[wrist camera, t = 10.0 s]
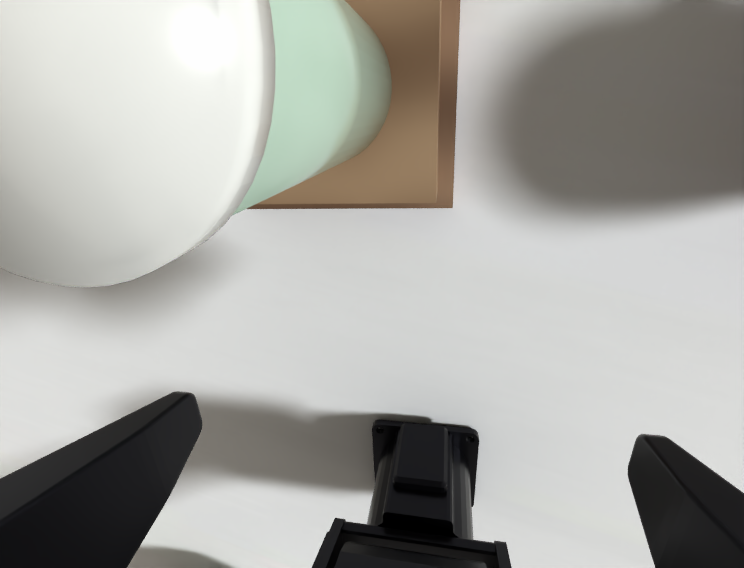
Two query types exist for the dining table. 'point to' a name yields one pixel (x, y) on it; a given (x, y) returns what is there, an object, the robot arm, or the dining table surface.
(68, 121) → the tumbler
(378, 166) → the pedestal
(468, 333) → the dining table surface
